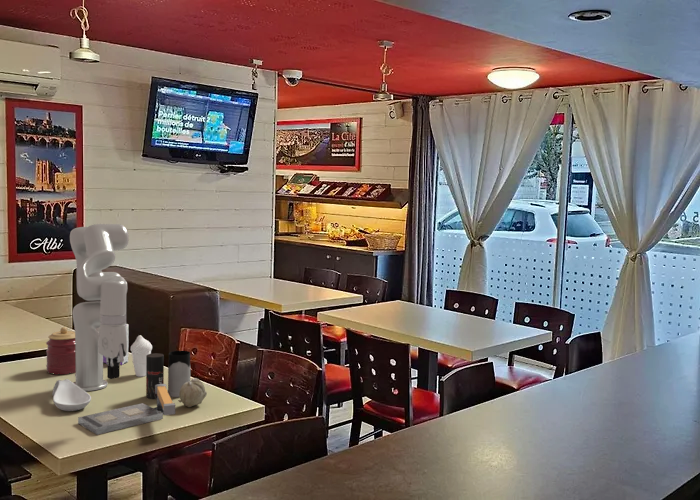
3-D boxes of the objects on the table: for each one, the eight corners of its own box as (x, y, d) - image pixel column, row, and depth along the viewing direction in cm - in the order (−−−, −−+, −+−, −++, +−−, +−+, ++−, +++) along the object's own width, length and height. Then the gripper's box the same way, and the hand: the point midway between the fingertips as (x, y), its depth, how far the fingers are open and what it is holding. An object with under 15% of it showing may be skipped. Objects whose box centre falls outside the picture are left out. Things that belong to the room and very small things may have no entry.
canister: (73, 375, 266) (73, 331, 264) (40, 374, 266) (39, 330, 264) (86, 367, 279) (86, 324, 277) (55, 366, 279) (54, 323, 277)
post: (147, 411, 226) (147, 393, 226) (163, 407, 231) (164, 389, 230) (157, 416, 222) (157, 397, 222) (173, 412, 226) (173, 394, 226)
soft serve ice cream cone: (156, 374, 270) (156, 335, 269) (140, 379, 263) (140, 338, 262) (142, 371, 275) (142, 332, 273) (125, 375, 268) (125, 335, 266)
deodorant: (158, 399, 239) (158, 357, 238) (143, 398, 240) (143, 356, 239) (166, 394, 245) (166, 354, 243) (151, 393, 246) (151, 352, 245)
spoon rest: (95, 411, 226) (95, 389, 225) (58, 417, 219) (58, 395, 218) (75, 393, 245) (75, 373, 244) (40, 398, 238) (40, 378, 237)
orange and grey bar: (163, 415, 204) (163, 406, 204) (154, 392, 227) (154, 383, 226) (175, 414, 206) (175, 405, 205) (165, 391, 228) (165, 383, 228)
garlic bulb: (206, 402, 238) (206, 374, 237) (206, 410, 230) (207, 381, 229) (178, 403, 236) (178, 375, 235) (177, 411, 228) (178, 381, 227)
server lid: (78, 423, 213) (78, 416, 213) (142, 408, 229) (142, 402, 228) (97, 434, 204) (97, 427, 204) (162, 418, 220) (162, 411, 219)
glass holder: (166, 397, 242) (166, 356, 240) (168, 386, 256) (168, 346, 254) (191, 396, 244) (191, 355, 242) (192, 385, 257) (192, 346, 256)
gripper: (90, 317, 212) (90, 375, 214) (113, 325, 202) (113, 385, 204) (113, 314, 218) (113, 370, 219) (137, 322, 207) (136, 380, 209)
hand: (113, 377), depth 212 cm, fingers closed
